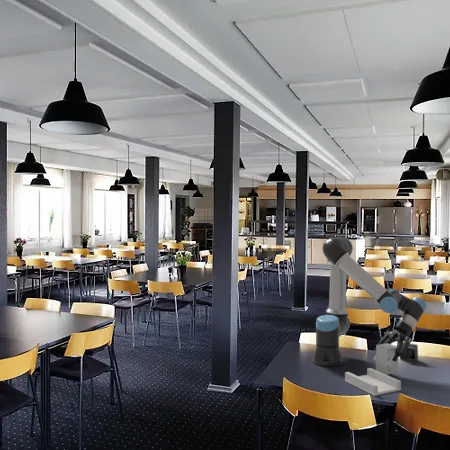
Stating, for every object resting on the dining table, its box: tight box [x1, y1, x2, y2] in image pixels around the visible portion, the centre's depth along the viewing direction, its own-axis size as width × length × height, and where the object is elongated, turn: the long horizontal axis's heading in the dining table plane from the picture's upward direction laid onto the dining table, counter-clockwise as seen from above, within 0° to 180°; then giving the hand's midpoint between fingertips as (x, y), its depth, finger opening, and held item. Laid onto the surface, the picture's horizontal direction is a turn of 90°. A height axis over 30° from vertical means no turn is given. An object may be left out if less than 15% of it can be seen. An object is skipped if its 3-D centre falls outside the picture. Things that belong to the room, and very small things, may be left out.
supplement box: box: [375, 343, 399, 376], centre depth 218 cm, size 7×7×13 cm
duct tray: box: [344, 367, 402, 397], centre depth 206 cm, size 19×15×4 cm
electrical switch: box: [399, 342, 419, 363], centre depth 241 cm, size 9×5×9 cm, turn 57°
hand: (381, 363), depth 217 cm, fingers closed on supplement box, 7 cm apart
